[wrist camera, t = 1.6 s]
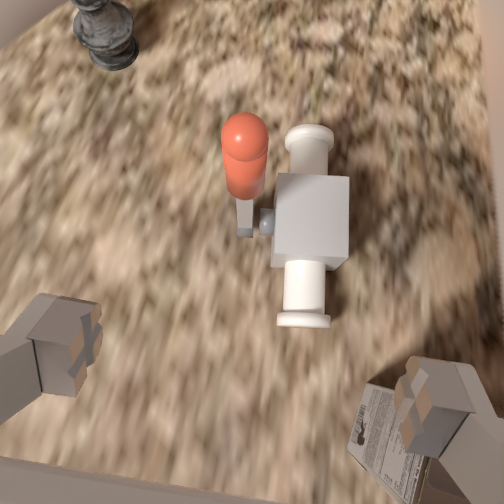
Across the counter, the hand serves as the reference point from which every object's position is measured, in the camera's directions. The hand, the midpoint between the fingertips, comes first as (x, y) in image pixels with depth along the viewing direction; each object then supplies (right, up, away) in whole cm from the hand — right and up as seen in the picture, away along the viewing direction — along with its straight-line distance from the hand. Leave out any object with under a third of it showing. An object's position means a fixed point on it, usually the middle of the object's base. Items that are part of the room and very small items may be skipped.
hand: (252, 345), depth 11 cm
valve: (+5, +4, +30) cm, 31 cm away
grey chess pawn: (-15, +24, +35) cm, 45 cm away
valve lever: (-1, +5, +29) cm, 29 cm away
